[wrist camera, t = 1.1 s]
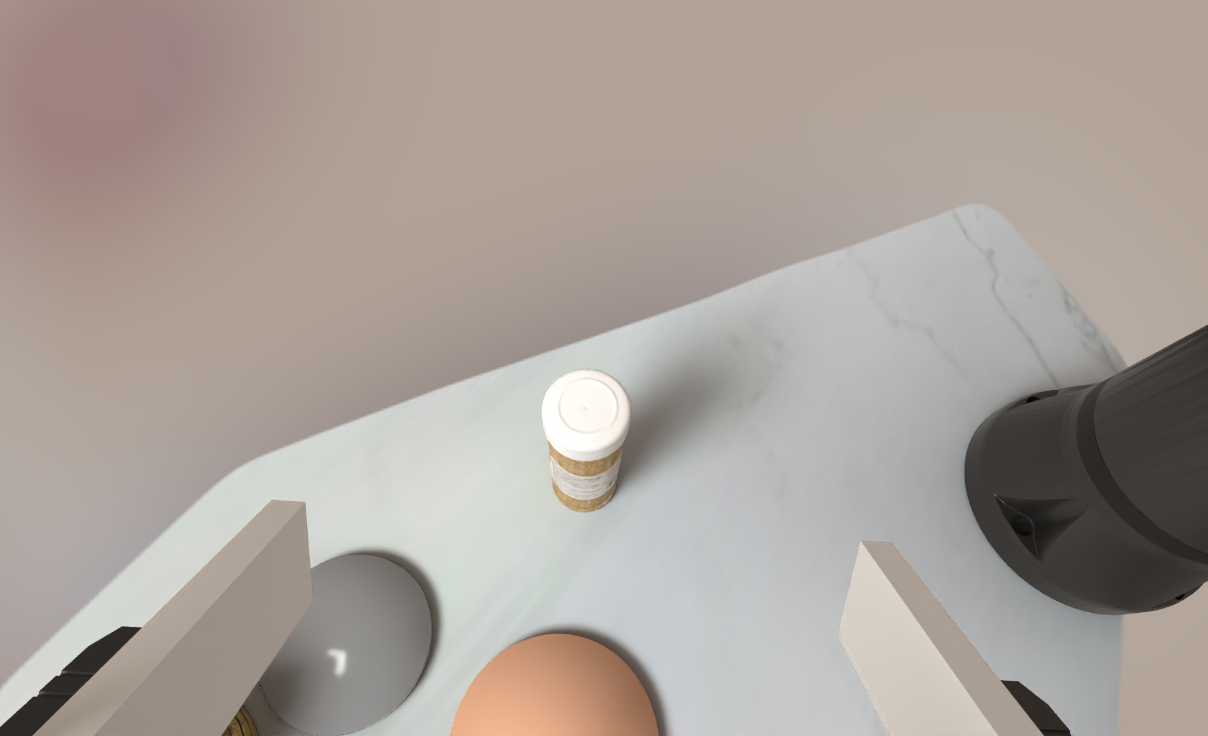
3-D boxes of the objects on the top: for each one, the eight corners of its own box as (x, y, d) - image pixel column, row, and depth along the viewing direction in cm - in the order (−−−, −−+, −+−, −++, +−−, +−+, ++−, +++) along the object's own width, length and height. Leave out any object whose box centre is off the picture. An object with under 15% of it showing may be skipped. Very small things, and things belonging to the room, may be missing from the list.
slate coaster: (462, 596, 39) (459, 594, 38) (373, 767, 34) (369, 769, 34) (329, 531, 40) (324, 528, 39) (228, 687, 36) (221, 688, 35)
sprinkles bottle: (577, 438, 44) (577, 350, 32) (629, 474, 43) (650, 397, 31) (538, 489, 42) (522, 415, 30) (591, 528, 41) (597, 467, 29)
